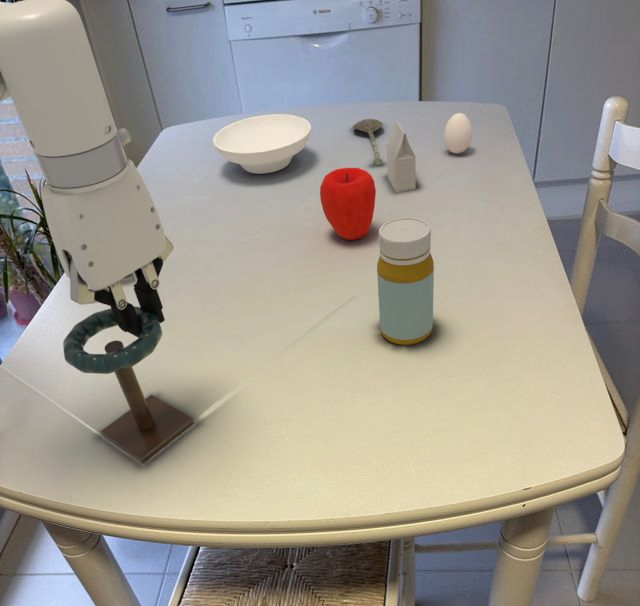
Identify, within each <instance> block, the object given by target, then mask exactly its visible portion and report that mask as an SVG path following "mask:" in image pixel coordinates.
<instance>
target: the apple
mask: <svg viewBox="0 0 640 606" xmlns="http://www.w3.org/2000/svg"><path fill="white" fill-rule="evenodd" d="M375 184H376V183H375V180H374V177H373V176H372V175H371V173H369V171H367V170H365V169H363V168H360V167H341V168H337V169H333V170H331V171H330V172H328V173H327V174H325V176H324V178H323V179H322V181H321V184H320V186H319V198H320V203H321V206H322V207H321V208H322V210H323V213H324V216H325V218H326V220H327V222H328V223H329V225H330V226H331V227H332V229H333V230H334V231H335V233H336V234H337V235H338V236H339V237H340V238H342V239H344V240H347V241H354V240H359V239H363V238H365V237H366V236H367V235H368V233H369V230H370V227H371V225H372V222H373V217H374V213H375V205H376V195H377V192H376V191H377V189H376V185H375Z"/></svg>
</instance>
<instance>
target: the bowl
mask: <svg viewBox="0 0 640 606" xmlns="http://www.w3.org/2000/svg"><path fill="white" fill-rule="evenodd" d="M311 131H312V125H311V123H310V122H309V120H307V119H306V118H304V117H301V116H298V115H294V114H285V113H274V114H273V113H272V114H262V115H255V116H252V117H247V118H243V119H240V120H237V121H234V122H232V123H230V124H228V125H226V126H224V127H222V128H221V129H219V130H218V131H217V132H216V133H215V134H214V136H213V138H212V144H213V146H214V147H215V149H216V151H217V152H218V153H219V154H220V156H222V157H223V158H224V159H225V160H227V161H228V162H231V163H233V164H238V165H239V166H240V167H242V168H243V169H244V171H246V172H247V173H251V174H269V173H274V172H278V171H280V170H282V169H285V168H286V167H288V166H289V164H291V161H292V160H293V157H294V156H295V155H297V154H298V153H299V152H301V151H302V150H303V149H305V146H306V145H307V143H308V141H309V139H310V136H311Z"/></svg>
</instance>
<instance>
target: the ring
mask: <svg viewBox="0 0 640 606" xmlns="http://www.w3.org/2000/svg"><path fill="white" fill-rule="evenodd" d="M134 308H135V311H136V313H137V316H138V319H139V321H140V324H141V328H142V333H141V334H140V336H139V337H137V339H136V340H134V341H132V342H130V343H129V344H128V345H126V346H124V348H123V349H120V350H117V351H114V352H110V353H107V354H106V353H89V352H87V351H85V349H84V347H85V346H86V344H87V343H88V341H89V340H90V339H91V338H92V337H94V336H96V335H97V334H99V333H100V332H102V331H103V330H107V329H110V328H115V327H117V326H118V324H117V321H116V319H115V316H114V314H113V311H112V309H111V307H110V308H107V309H103V310H100V311H97V312H94V313H92V314H91V315H89V316H87V317H85V318H84V319H82V320H81V321H79V322H77V323H76V324H75V325H73V327H72V329H71V330H70V331H69V333H68V334H67V335H66V337H65V338H64V339H63V341H62V343H63V344H62V345H63V347H62V348H63V357H64V360H65V362H66V363H67V364H68V365H70V366H72V367H73V368H75V369H76V370H78V371H79V372H81V373H83V374H98V375H99V374H102V375H109V374H113V373H115V372H116V371H119V370H122V369H126V368H129V367H132V368H133V367H134V366H136V365H137V364H139V363H140V362H142V361H143V360H144V359H146V358H147V357H149V356H150V355H152V353H154V351H155V349H156V347H157V346H158V344H159V343H160V341H161V339H162V336H163V330H162V326H161V323H159V319H158V317H157V316H156V315H155V314H153V313H151V312H149V311H147V310H145V309H143V308H141V307H140V306H134ZM118 327H119V326H118Z"/></svg>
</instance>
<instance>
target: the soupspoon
mask: <svg viewBox="0 0 640 606" xmlns="http://www.w3.org/2000/svg"><path fill="white" fill-rule="evenodd" d="M382 126H384V123H383V122H382V121H380V120H379V119H375V118H366V119H361V120H359V121H357V122H356V123H355V124H353V125H352V129H356V130H358V131H361V132H365V133H367V134H368V135H369V138H370V141H371V143H372V147H373V151H374V153H373V154H374V159H373V161H372V163H373V165H374V166H381V165H382V163H383V162H384V161H383V158H381V156H380V153H379V149H378V144H377V142H376V139H375V135H374V133H375V132H376V131H377V130H379V129H380V128H381V127H382Z"/></svg>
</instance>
